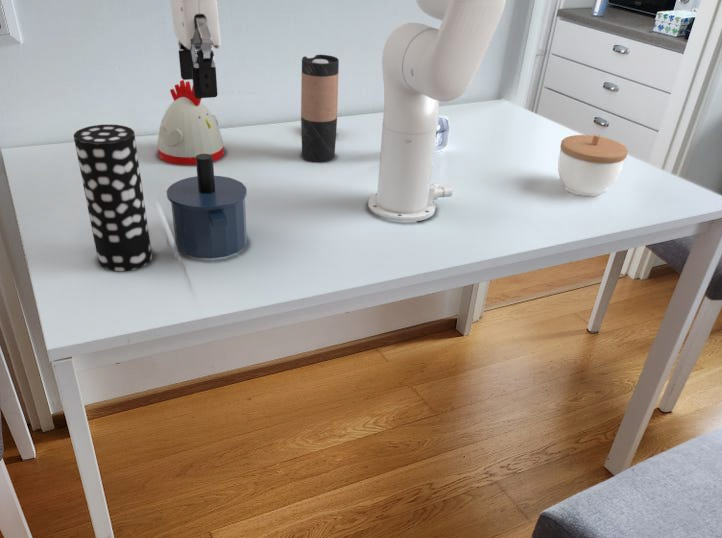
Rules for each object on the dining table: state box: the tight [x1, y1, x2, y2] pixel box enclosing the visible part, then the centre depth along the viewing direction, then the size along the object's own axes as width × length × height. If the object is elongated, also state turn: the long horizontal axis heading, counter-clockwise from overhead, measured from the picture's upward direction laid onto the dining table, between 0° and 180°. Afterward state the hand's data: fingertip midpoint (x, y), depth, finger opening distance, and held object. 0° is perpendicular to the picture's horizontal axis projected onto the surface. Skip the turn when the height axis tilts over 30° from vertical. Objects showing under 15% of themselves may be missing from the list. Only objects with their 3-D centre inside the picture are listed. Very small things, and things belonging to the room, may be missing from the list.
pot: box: [170, 197, 248, 259], centre depth 111 cm, size 12×17×9 cm
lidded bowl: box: [557, 134, 629, 198], centre depth 135 cm, size 13×13×11 cm
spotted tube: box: [73, 124, 153, 272], centre depth 102 cm, size 8×8×20 cm
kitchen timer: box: [157, 79, 225, 166], centre depth 142 cm, size 14×14×15 cm
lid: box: [166, 154, 247, 210], centre depth 106 cm, size 12×12×7 cm
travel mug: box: [300, 54, 340, 163], centre depth 142 cm, size 8×8×20 cm
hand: (198, 87), depth 98 cm, fingers open, 9 cm apart
